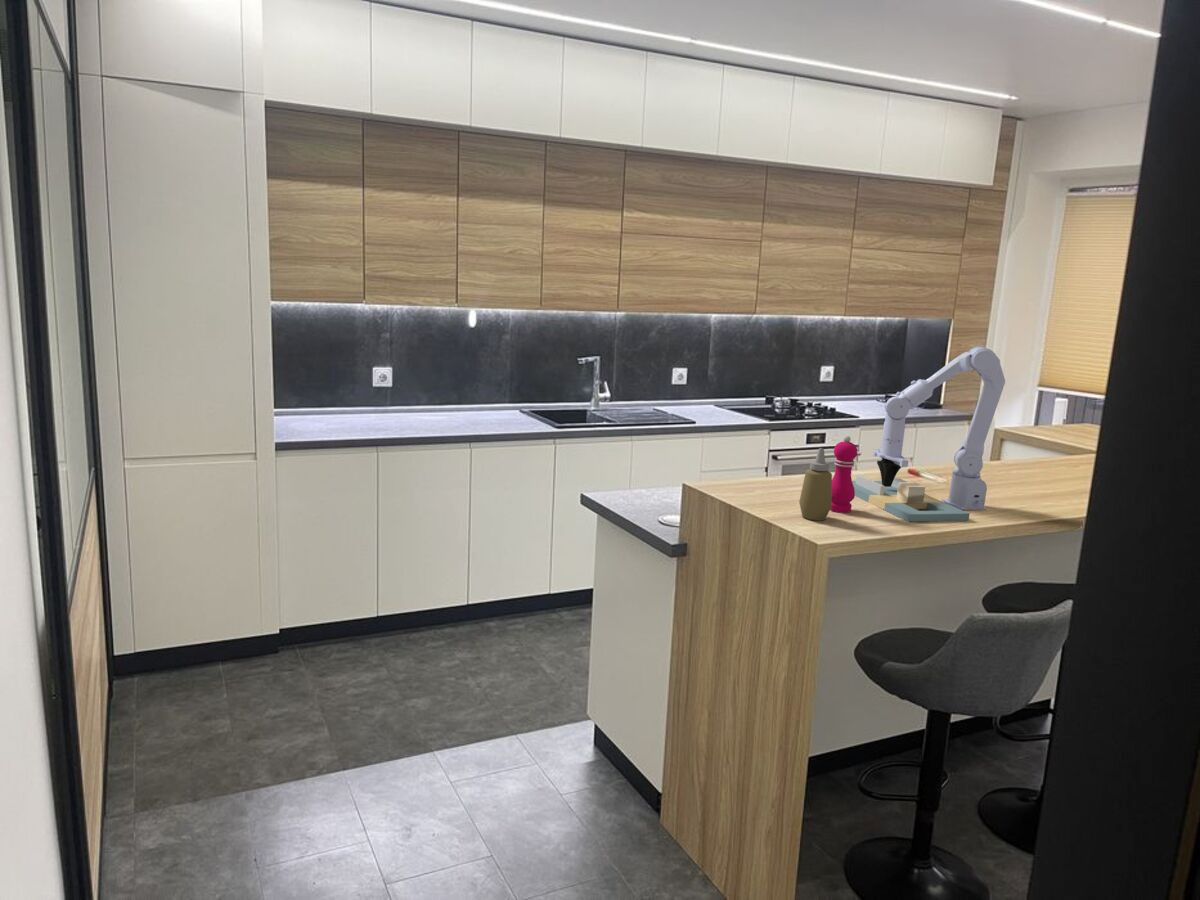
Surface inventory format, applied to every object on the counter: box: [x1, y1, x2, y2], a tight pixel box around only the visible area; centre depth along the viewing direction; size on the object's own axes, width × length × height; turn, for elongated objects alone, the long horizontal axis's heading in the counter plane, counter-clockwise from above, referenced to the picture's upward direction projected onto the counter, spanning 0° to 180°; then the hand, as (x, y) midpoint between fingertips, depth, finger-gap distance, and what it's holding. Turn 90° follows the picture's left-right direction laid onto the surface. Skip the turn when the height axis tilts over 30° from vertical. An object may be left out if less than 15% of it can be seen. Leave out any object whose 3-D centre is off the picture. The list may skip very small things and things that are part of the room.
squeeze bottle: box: [798, 447, 833, 521], centre depth 219 cm, size 8×8×18 cm
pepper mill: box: [830, 435, 858, 514], centre depth 229 cm, size 7×7×20 cm
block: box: [897, 481, 926, 503], centre depth 236 cm, size 5×5×4 cm
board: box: [852, 474, 970, 522], centre depth 241 cm, size 35×18×4 cm, turn 14°
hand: (886, 486), depth 248 cm, fingers closed
